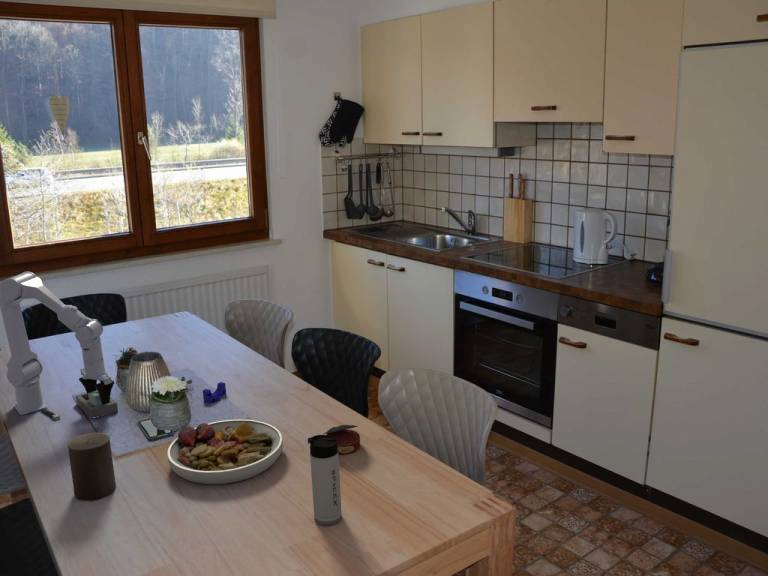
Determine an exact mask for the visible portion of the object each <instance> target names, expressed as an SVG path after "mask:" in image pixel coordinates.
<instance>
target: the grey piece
mask: <svg viewBox="0 0 768 576" xmlns="http://www.w3.org/2000/svg"><path fill="white" fill-rule="evenodd" d="M75 401H76V405H77V406H78V407H79V408H80V409H81V410H82V411H83V412H84V411H85V412H86V413H87V414H88V415H89V416H90V417H91V418H90V417H89V416H88V415H87V414H86V413H85V412H84V413H85V414H86V415H87V416H88V417H89V418H90V419H92V418H93V417H97V416H101V417H103V416H102V415H104V416H107V415H111V414H115V413H117V412H119V409H118V402H117V401H116V400H114V399H113V398H112V397H111V396H110V401H109V403H108V404H104V405H101V406H97V407H94V408H93V407H92V406H91V405H90V404H89V397H88V394H87V392H84V393H83V392H82V393H80V394H77V395H75ZM110 413H111V414H110ZM106 414H107V415H106ZM97 418H98V417H97Z"/></svg>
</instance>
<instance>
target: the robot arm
mask: <svg viewBox="0 0 768 576" xmlns="http://www.w3.org/2000/svg"><path fill="white" fill-rule="evenodd" d="M24 299H25V300H26V299H27V300H29V299H30V300H31V299H35V300H36V301H38V302H40V303H41V304H42V305H44V306H45V307H47V308H48V309H49V310H52V311H53V312H54V313H56V316H57V320H58V321H60V323H62V324H63V325H65V326H66V327H67V328H68V329H69V330H71V331H72V332H73V333H75V334H74V337H75V339H76V341H78V342H79V346H80V347H81V354H82V360H83V362H82V363H83V367H81V368H80V375H81V377H79V378H78V380H79V382H80V383H81V384H82V386H83V388H84V390H85V393H87V394H88V393H91V392H93V391H96V390H97V391H98V393H99V396H100V400H101V403H102V404H103V405H104V404H107V403H109V401H110V397H111V393H112V390H113V387H114V386H115V385H114V384H115V380H112V377H111V376H110V375H109V374H108V372H107V371H106V369H105V367H106V366H105V362H104V354H103V348H102V342H101V341H102V340H101V335H102V334H103V332H104V327H103V325H102V324H101V322H100V321H99V320H98V319H95V318H90V317H88V316H86V315H85V314H84V313H82V311H80V310H78V309H79V308H78V307H77V306H76V305H72V304H64V302H63V301H61V300H60V299H59V298H58V297H57V296H56V295H55V294H53V292H52V291H50V289H48V288H47V287H46V286H45V285H44V284H43V281H42V279H41V278H40V277H39V276H36V273H33V272H31V271H23V272H22V273H20V274H17V275H14V276H12V277H9V278H5V279H4V280H2V281H1V283H0V314H1V317H2V322H3V326H4V329H5V335H6V338H7V342H8V346H9V351H10V354H11V355H10V358H9V360H8V361H7V363H6V367H7V372H6V379H7V380H8V382H9V383H10V384H11V386H12V387H13V390H14V396H15V402H16V404H14V405H13V407H14V409H15V410H16V411H17V413H18V414H19V415H20V416H23V415H27V414H30V413H35V412H37V411H41V409H42V408H45V409H48V405H46V403H45V402H44V401H43V393H42V388H41V383H40V378H41V376H40V375H41V374H42V372H43V370H44V369H43V364H42V362H41V361H40V359H39V358H38V354H37V353H36V352H34V351H32V350H31V346H30V341H29V338H28V334H27V329H26V326H25V324H26V323H25V319H24V316H23V311H22V308H21V302H23V300H24ZM98 381H99V382H98Z"/></svg>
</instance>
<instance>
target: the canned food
mask: <svg viewBox="0 0 768 576" xmlns="http://www.w3.org/2000/svg"><path fill="white" fill-rule="evenodd" d="M353 428H358V425H355V424H340V425H339V426H333V427H330V428H329V429H328V430H327V431H325V432H324V433H323V435H329V436H332V437H334V438H335V439H336V441H337V443H338V456H348V455H353V454H354V453H356V452H358V451H359V450H360V448H361V439H360V438H361V435H360V433H359V432H357V431H356V430H353Z"/></svg>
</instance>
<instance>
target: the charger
mask: <svg viewBox="0 0 768 576" xmlns="http://www.w3.org/2000/svg"><path fill="white" fill-rule="evenodd" d="M88 397H89V404H90V405H91V406H92V407H93V408H94V407H97V406H101V405H103V404H102V403H101V400H100V396H99V393H98V391H97V390H96V391H93V392H91V393H88ZM107 404H108V403H107Z"/></svg>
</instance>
